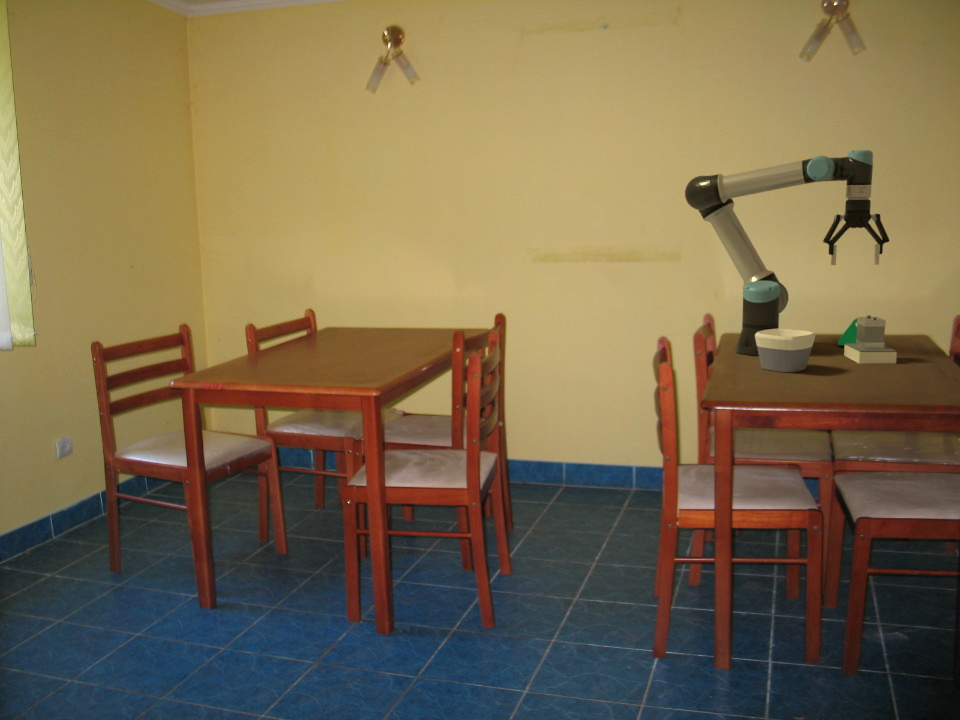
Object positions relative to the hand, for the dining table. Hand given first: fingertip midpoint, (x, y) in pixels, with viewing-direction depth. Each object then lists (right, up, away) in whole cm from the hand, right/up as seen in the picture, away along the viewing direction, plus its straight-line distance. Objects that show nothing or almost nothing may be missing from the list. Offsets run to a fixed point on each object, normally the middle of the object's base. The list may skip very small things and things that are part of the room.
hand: (854, 264), depth 294 cm
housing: (0, -27, -11) cm, 29 cm away
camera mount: (+7, -27, +13) cm, 31 cm away
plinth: (0, -31, -11) cm, 33 cm away
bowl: (-31, -34, -23) cm, 52 cm away
